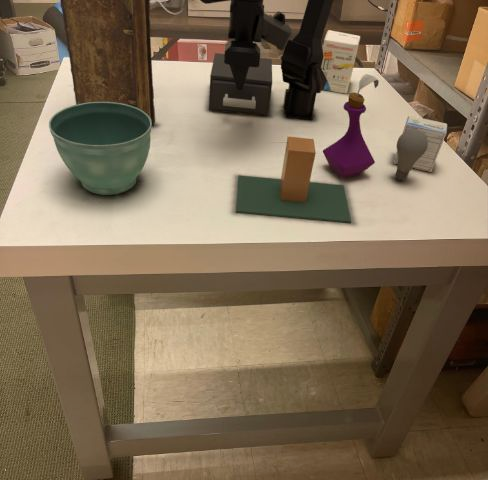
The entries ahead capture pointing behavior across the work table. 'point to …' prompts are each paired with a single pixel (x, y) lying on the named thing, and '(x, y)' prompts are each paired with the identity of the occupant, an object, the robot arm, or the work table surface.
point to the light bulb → (409, 151)
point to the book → (110, 51)
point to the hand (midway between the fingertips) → (239, 89)
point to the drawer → (239, 97)
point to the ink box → (339, 59)
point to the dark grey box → (253, 76)
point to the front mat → (269, 202)
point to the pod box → (297, 169)
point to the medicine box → (434, 136)
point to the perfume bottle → (352, 138)
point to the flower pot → (103, 144)
